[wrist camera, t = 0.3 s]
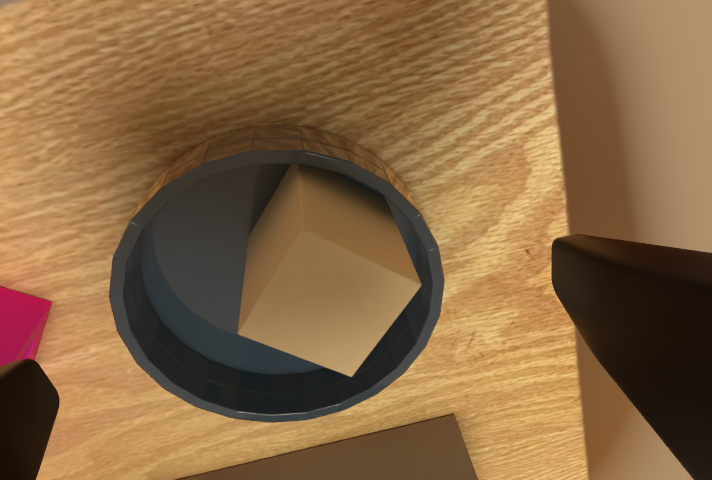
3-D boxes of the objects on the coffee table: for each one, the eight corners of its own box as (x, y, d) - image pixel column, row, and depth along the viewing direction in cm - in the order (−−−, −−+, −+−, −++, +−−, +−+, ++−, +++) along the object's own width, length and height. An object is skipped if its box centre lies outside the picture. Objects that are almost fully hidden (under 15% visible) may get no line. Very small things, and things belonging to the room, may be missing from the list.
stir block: (297, 152, 24) (303, 228, 17) (387, 199, 26) (422, 285, 19) (248, 236, 26) (236, 334, 19) (335, 276, 27) (351, 377, 21)
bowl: (208, 59, 22) (196, 77, 19) (482, 213, 27) (507, 247, 24) (86, 319, 27) (61, 365, 24) (334, 405, 33) (339, 452, 30)
